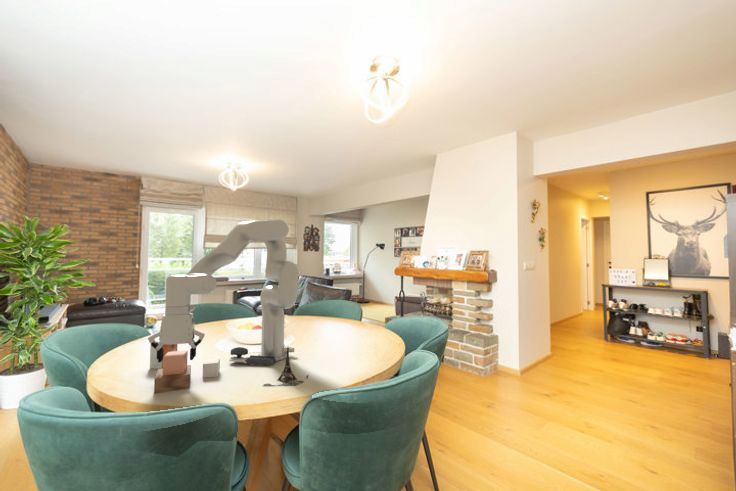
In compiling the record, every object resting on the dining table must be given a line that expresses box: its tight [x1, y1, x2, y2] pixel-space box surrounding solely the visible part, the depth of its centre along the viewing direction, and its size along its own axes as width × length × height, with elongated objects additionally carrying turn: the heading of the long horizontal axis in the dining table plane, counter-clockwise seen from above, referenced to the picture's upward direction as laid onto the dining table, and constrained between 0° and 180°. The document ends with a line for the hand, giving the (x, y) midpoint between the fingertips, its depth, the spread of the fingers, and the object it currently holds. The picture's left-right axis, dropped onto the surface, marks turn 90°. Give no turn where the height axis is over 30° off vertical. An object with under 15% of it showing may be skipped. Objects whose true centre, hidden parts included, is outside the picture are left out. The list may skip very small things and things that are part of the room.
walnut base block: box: [153, 364, 192, 394], centre depth 110 cm, size 10×10×5 cm
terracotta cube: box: [163, 350, 189, 375], centre depth 111 cm, size 6×6×6 cm
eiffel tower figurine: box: [262, 346, 310, 387], centre depth 116 cm, size 15×10×13 cm
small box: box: [149, 339, 178, 370], centre depth 129 cm, size 8×6×10 cm
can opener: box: [228, 346, 277, 367], centre depth 133 cm, size 19×5×6 cm, turn 86°
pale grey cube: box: [202, 358, 221, 378], centre depth 121 cm, size 5×5×5 cm
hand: (176, 360), depth 111 cm, fingers open, 9 cm apart
